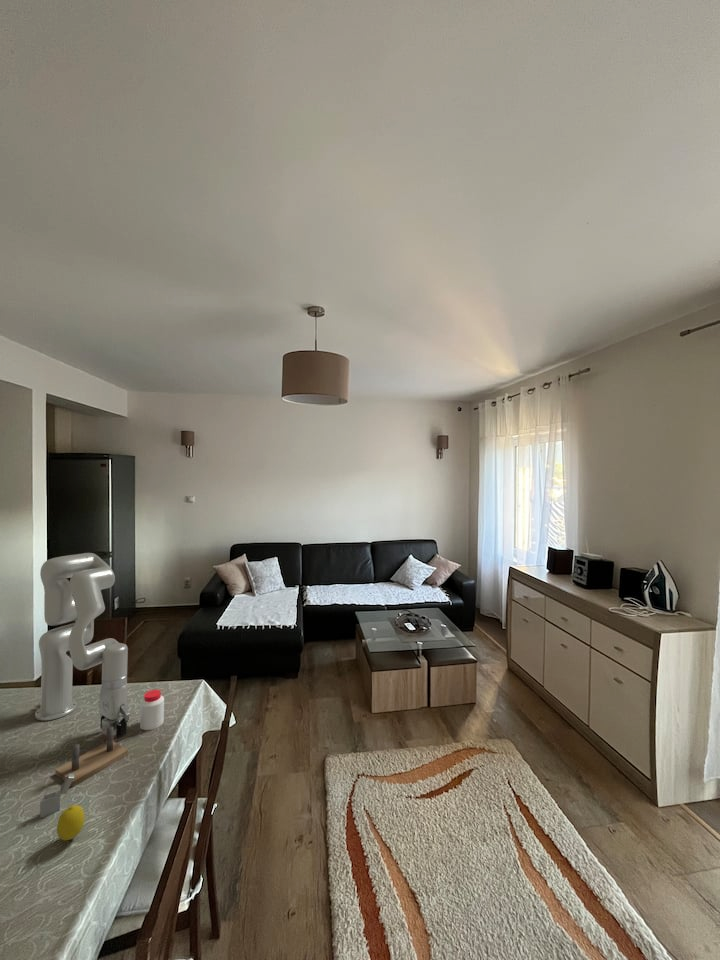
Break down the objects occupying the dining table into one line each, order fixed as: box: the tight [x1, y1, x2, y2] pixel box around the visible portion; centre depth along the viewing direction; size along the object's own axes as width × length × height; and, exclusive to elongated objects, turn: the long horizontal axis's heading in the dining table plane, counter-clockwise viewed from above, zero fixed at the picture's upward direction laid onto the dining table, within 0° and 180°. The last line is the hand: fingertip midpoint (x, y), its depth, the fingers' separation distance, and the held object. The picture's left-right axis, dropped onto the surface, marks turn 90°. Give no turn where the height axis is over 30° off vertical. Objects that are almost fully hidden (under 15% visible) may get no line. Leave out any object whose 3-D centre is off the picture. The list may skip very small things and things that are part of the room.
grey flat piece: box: [39, 774, 74, 819], centre depth 107 cm, size 7×2×8 cm, turn 130°
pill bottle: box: [139, 689, 165, 731], centre depth 145 cm, size 8×8×11 cm
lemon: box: [56, 804, 86, 841], centre depth 98 cm, size 6×6×8 cm
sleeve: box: [101, 713, 123, 741], centre depth 138 cm, size 5×5×6 cm
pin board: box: [54, 727, 129, 788], centre depth 124 cm, size 10×16×8 cm, turn 151°
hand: (113, 730), depth 138 cm, fingers open, 9 cm apart
